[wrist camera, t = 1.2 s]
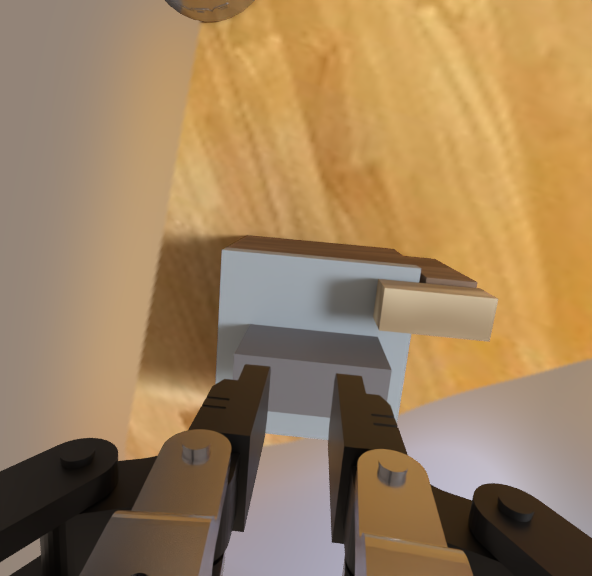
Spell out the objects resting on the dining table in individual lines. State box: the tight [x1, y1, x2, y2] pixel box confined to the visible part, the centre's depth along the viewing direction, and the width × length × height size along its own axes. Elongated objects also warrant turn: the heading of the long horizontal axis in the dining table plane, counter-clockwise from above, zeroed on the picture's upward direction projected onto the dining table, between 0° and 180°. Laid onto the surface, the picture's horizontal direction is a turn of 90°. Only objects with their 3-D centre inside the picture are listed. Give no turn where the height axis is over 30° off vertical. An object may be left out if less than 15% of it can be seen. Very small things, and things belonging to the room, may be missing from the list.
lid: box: [216, 247, 421, 440], centre depth 25 cm, size 12×12×7 cm
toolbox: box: [227, 235, 477, 288], centre depth 30 cm, size 12×15×9 cm
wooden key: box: [373, 279, 498, 342], centre depth 23 cm, size 2×6×2 cm, turn 85°
